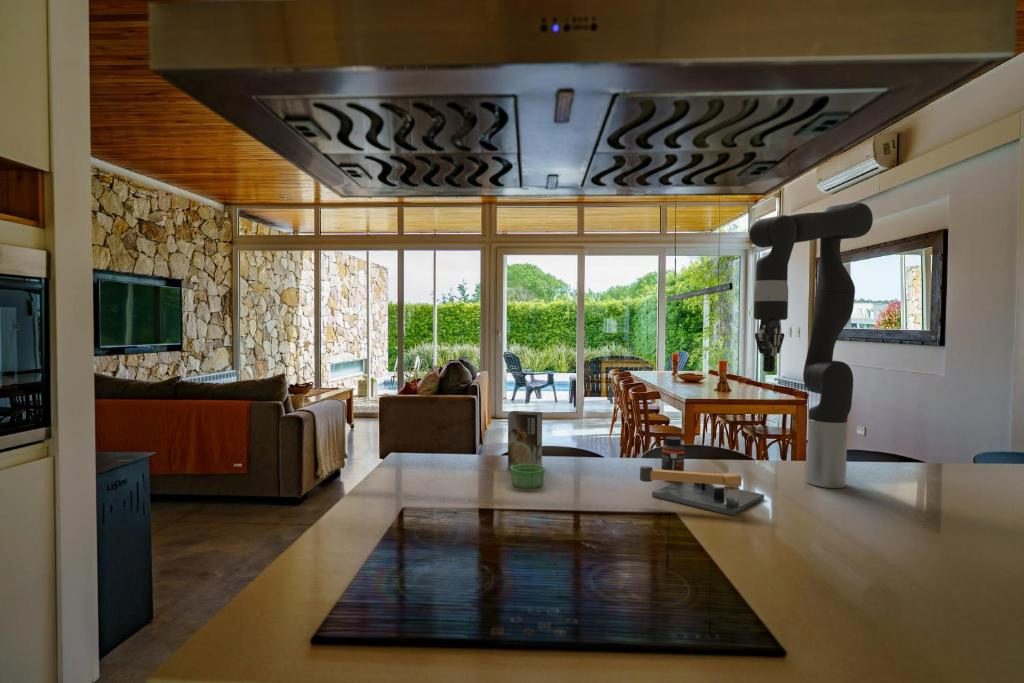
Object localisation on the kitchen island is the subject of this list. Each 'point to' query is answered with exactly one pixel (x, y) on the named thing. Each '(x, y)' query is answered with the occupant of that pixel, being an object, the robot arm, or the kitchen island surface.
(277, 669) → the kitchen island surface
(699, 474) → the light wooden bar
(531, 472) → the ramekin
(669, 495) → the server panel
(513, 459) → the coffee box
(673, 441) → the supplement bottle
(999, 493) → the kitchen island surface
